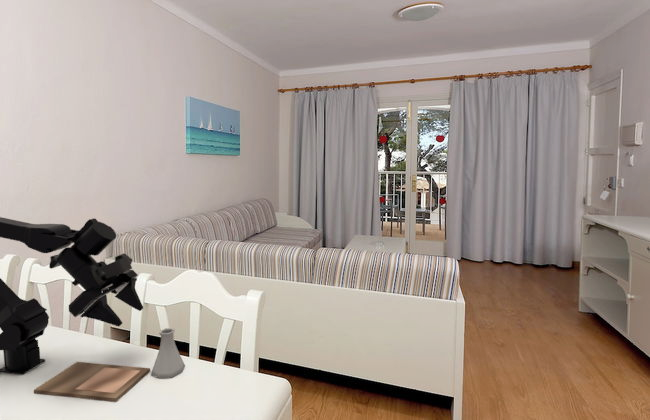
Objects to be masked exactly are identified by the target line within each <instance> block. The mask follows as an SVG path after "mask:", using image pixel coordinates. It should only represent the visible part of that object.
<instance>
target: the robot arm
mask: <svg viewBox="0 0 650 420" xmlns="http://www.w3.org/2000/svg"><path fill="white" fill-rule="evenodd" d="M0 238H1V239H7V240H12V241H16V242H20V243H23V244H24V245H25V246H26V247H27V248H28V249H31V250H34V251H36V252H39V253H41V254H49V253H53V252H57V251H59V250H61V251H60V252H59V253H58V254H54V255H52V256H50V257H49V258H50V260H49V266H48V267H49V269H55V268H57V267H60V266H61V267H62V269H63V270H64V271H65V272H67V273H68V274H69V275H70V276H71V278H73V281H72V282H71V283H72V285H74V287H76V286H78V285H80V287H82V288H83V290H84V291H82V292H81V293H80V294H79V295H77V297H76V298H74V299H73V300H72V301H71V302H70V303H69V304H68V312H69V313H70V314H71V315H72V316H73V317H74V318H77V317H78V316H80V318H89V319H91V320H92V319H93V320H97V321H99V322H100V321H101V322H104V323H107V324H109V325H113V326H115V327H120V326H121V325H123V321H122V319H120V317H119V315H117V313H116V312H115V311H114V310H113V308H112V307H111V306H110V305H109V304H108V298H107V295H108V294H109V293H112V294H115V296H114V297H115V298H116V299H118V300H119V301H121V302H123V303H125V304H127V305H128V306H130V307H131V308H133V309H135V310H136V311H139V312H140V311H142V310H143V309H144V306H143V304H142V301H141V299H140V297H139V295H138V292H137V290H136V282H137V281H138V278H137V277H138V276H139V274H137V272H135V271H134V269H133V267H132V263H133V259H132V258H131V257H129V255H127V254H126V253H125V252H124V253H121V254H119V255H117V256H115V258H114V261H113V262H110V263H106V262H105V261H99V262H97V260H95V258H94V257H92V256H99V255H100V254H101V253H102V252H103V251H104V250H105V249H106V248H107V247H108V246H109V245H110V244H111V243H112V242H113V241H114V240H115V239H116V238H117V233H116V231H115V230H114V228H112V227H111V226H109V225H108V224H106V223H104V222H101V221H98V220H97V219H96V218H95V217H94V218H91V219H88V220H87V221H85V223H84V225H83V226H82V227H81V228H80V229H78V230H77V229H71V227H70V226H68V225H67V224H64V223H63V224H62V223H29V222H25V221H20V220H17V219H16V220H15V219H11V218H6V217H1V216H0ZM47 310H48V309H47V308H45V307H43V305H41V304H40V302H39V301H38V299H36V298H31V299H29V300H25V299H22V298H20V297H19V296H18V295H17V294H16V293H15V292H14V291H13V289H11V287H9V286H8V284H6V282H5V281H4V280H3V279H2V278H1V277H0V330H1V331H2V332H0V351H3V362H4V366H3V367H1V368H0V373H3V374H11V375H12V374H14V375H23V374H26V373H27V372H29V371H31V370H32V369H34V368H36V367H37V366H40V365H41V364H43V363H45V362H46V359H45V358H41V353H40V352H41V351H40V350H41V349H40V346H39V339H37V338H39V337H40V336H43V335H44V333H45V329H47V327H48V325H49V319H50V316H49V314H48V313H47V312H46V311H47Z"/></svg>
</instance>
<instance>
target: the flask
mask: <svg viewBox="0 0 650 420" xmlns="http://www.w3.org/2000/svg"><path fill="white" fill-rule="evenodd" d="M175 331H176V329H175V328H172V327H166V328H165V327H164V328H163V329H161V330H160V331H159V333H158V334H159V335H160V344H159V345H160V346H159V349H158V353H157V355H156V358H155V361H154V365H153V366H152V370H151V371H150V375H151V376H154V377H156V378H158V379H165V378H174V377H175V376H177V375H178V374H181V373H183V370H184V369H185V366H186V364H185V362H184V360H183V358H182V356H181V353H180V352H179V350H178V347H177V345H176V342H175V339H174V337H175V336H174V334H175Z"/></svg>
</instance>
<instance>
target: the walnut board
mask: <svg viewBox="0 0 650 420" xmlns="http://www.w3.org/2000/svg"><path fill="white" fill-rule="evenodd" d="M149 373H151V367H150V368H149V367H141V366H128V365H119V364H109V363H106V364H105V363H96V362H95V363H94V362H86V361H85V362H84V361H83V362H82V361H75V363H73V364H71V365H70V366H68V367H67V368H65V369H64V370H62V371H60V372H59V373H58V374H56V375H55V376H53V377H51V378H50V379H49V380H47V381H45V382H44V383H42V384H40V385H39V386H38V387H35V388H34V389H33V394H38V395H45V396H46V395H48V396H57V397H66V398H76V399H84V400H94V401H105V402H113V403H116V402H118V401H119V400H120V399H121V398H122V397H124V396H125V394H127V393H128V392H129V391H130V390H131V389H133V388H134V387H135V386H136V384H138V383H139V382H141V380H143V378H145V377H146V376H147V375H148V374H149Z"/></svg>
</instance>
